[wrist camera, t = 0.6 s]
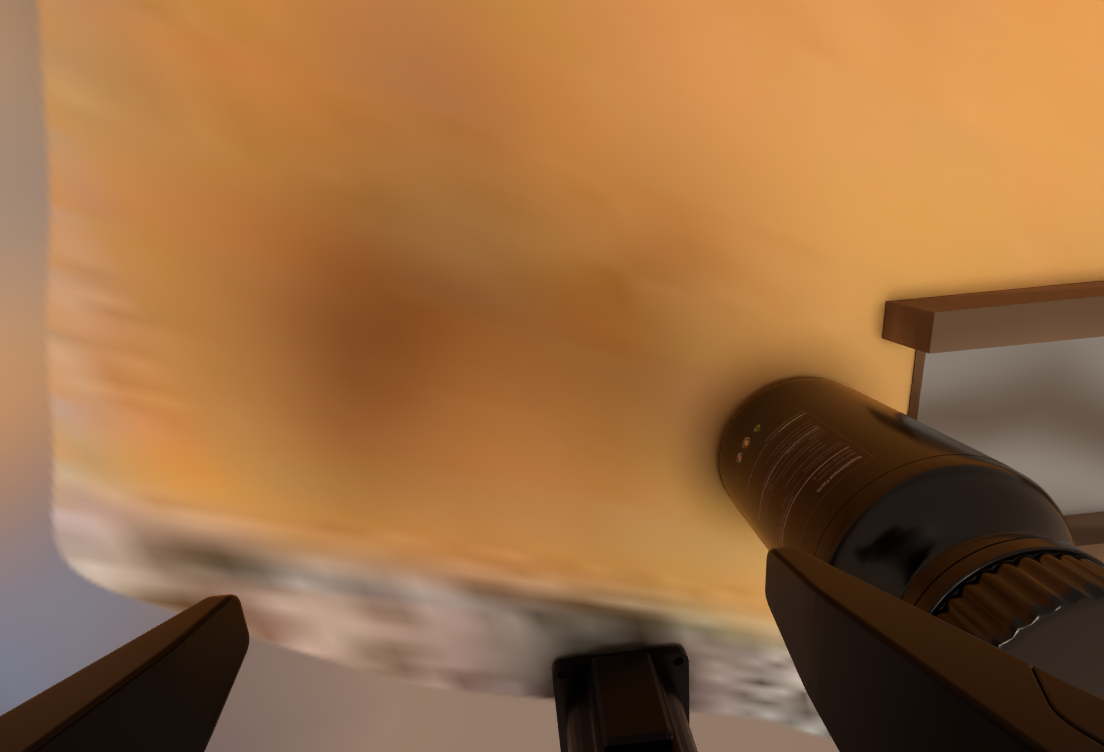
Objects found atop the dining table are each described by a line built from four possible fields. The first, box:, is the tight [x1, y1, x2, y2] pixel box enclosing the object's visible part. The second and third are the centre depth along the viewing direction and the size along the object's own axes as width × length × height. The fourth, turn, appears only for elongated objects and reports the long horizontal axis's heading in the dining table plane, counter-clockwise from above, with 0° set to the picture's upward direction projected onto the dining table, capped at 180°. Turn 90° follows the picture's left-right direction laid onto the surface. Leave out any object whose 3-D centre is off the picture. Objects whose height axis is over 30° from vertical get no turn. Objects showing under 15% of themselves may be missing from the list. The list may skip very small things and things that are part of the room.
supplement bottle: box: [719, 378, 1104, 700], centre depth 16 cm, size 7×7×12 cm
